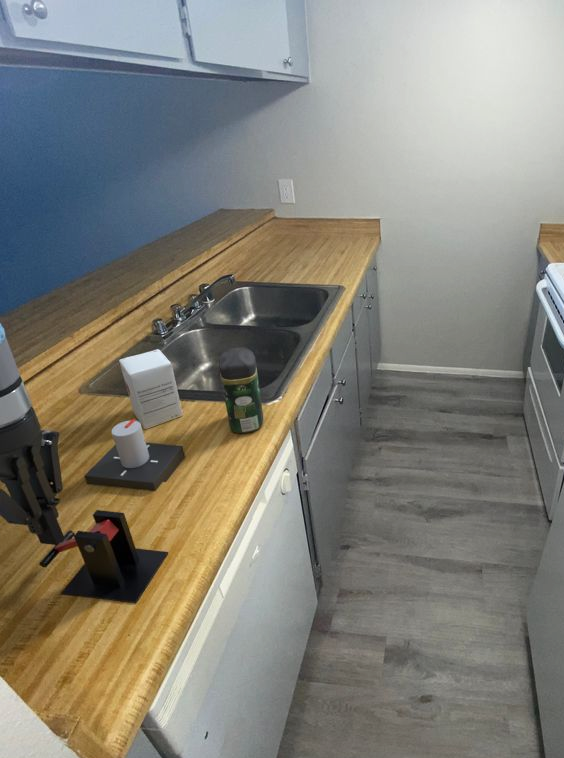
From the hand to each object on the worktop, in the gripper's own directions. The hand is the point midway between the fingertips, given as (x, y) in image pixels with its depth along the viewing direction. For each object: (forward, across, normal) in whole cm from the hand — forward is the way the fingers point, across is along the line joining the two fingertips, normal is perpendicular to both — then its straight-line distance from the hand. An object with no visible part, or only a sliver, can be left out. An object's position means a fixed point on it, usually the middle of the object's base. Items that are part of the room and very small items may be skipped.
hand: (52, 540), depth 73 cm
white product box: (+7, -42, -9) cm, 44 cm away
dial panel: (+7, -23, -2) cm, 24 cm away
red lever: (0, 0, +6) cm, 6 cm away
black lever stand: (+7, 0, +9) cm, 11 cm away
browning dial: (+4, -23, -2) cm, 23 cm away
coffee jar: (+7, -42, +13) cm, 45 cm away
